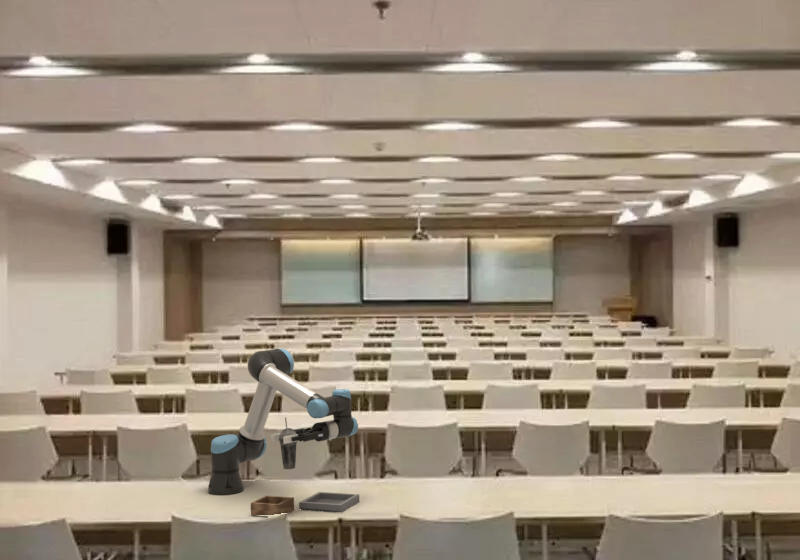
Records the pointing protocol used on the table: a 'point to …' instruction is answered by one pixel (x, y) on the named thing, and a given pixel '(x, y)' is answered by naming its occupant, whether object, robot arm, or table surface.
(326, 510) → the tray
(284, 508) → the brown wooden box
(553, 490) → the table surface
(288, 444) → the beverage cup
